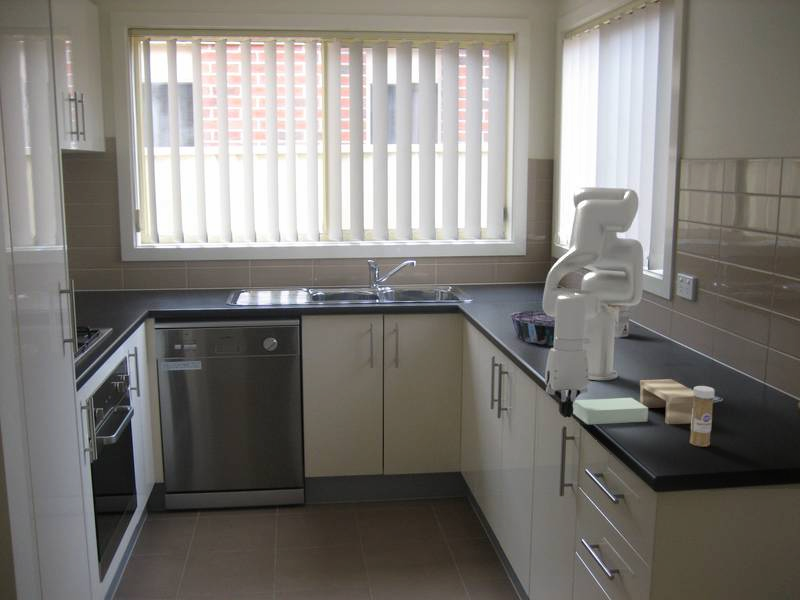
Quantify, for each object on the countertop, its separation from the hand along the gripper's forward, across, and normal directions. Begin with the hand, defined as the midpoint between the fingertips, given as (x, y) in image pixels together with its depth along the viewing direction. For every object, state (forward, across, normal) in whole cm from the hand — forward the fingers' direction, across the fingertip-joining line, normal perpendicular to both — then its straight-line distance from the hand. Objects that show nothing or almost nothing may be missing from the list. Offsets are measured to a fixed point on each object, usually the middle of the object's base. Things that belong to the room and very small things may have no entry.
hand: (565, 415), depth 212 cm
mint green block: (+1, -12, 0) cm, 12 cm away
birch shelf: (+1, -28, 0) cm, 29 cm away
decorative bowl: (+2, -30, -89) cm, 94 cm away
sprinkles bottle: (+1, -24, +22) cm, 33 cm away
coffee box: (+1, -57, -93) cm, 109 cm away
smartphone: (+2, -44, -15) cm, 46 cm away
